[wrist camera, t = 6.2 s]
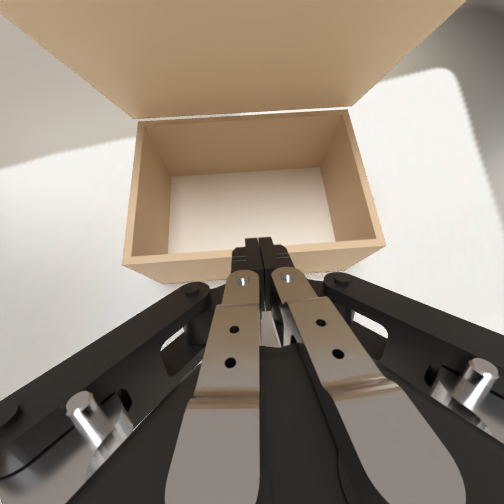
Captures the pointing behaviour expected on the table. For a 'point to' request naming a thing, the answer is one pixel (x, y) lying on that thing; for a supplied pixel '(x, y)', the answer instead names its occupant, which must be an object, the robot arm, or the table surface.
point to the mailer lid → (228, 49)
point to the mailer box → (248, 194)
